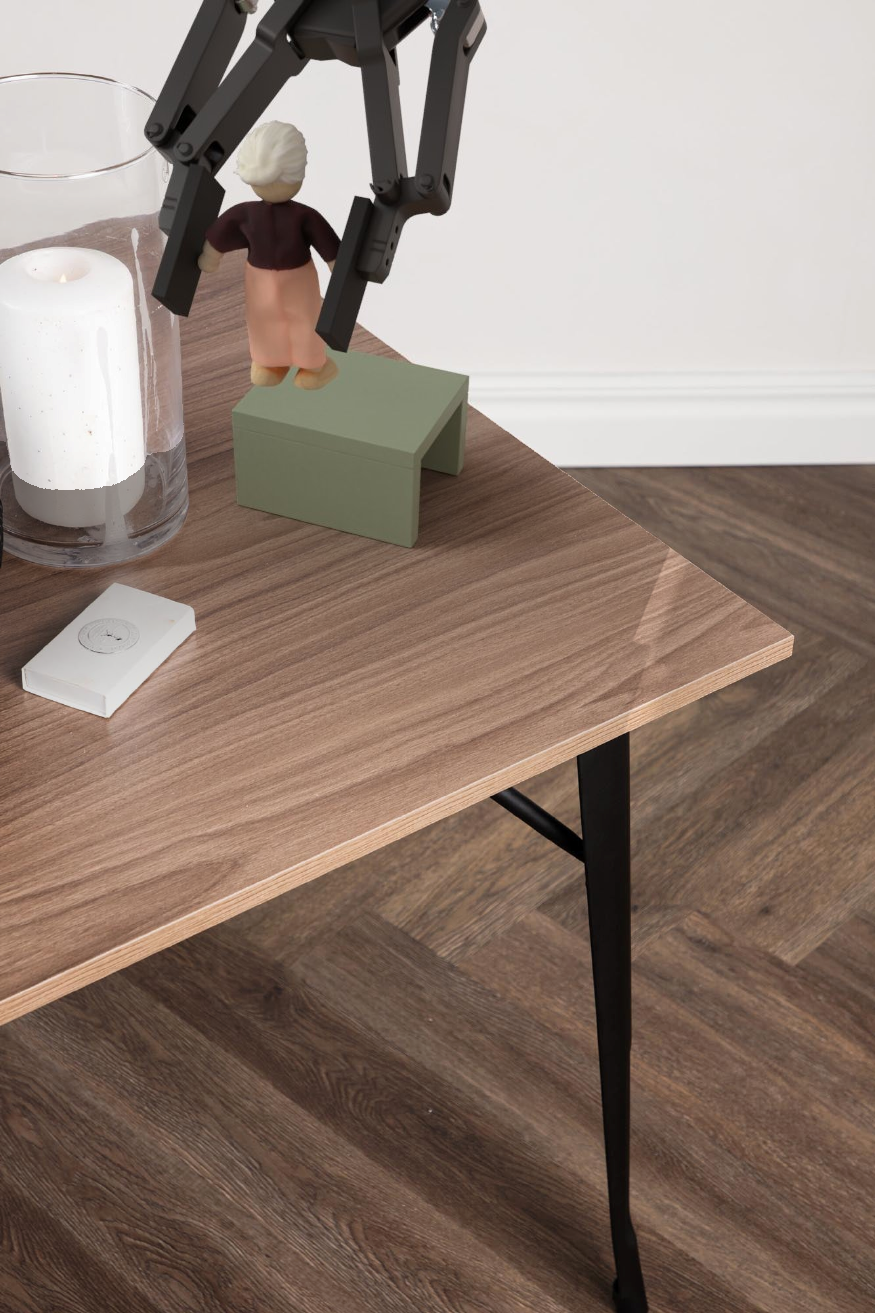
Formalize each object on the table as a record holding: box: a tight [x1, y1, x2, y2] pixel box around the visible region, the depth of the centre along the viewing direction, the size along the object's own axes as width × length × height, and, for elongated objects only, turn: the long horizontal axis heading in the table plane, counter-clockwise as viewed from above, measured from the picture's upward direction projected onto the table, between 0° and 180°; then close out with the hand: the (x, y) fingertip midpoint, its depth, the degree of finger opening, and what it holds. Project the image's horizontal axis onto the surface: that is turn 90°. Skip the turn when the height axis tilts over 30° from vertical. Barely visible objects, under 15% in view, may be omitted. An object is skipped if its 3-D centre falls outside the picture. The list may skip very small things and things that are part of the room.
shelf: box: [231, 343, 470, 549], centre depth 91 cm, size 12×10×7 cm
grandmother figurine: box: [198, 119, 342, 390], centre depth 68 cm, size 8×4×13 cm, turn 92°
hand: (249, 323), depth 67 cm, fingers closed on grandmother figurine, 8 cm apart
